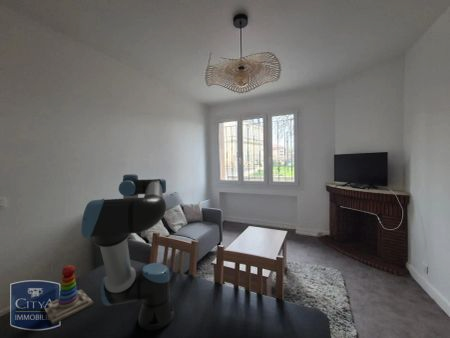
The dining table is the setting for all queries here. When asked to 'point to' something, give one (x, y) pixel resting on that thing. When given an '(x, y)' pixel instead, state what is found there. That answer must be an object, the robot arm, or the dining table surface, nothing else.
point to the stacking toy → (68, 288)
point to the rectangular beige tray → (60, 314)
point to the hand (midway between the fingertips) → (131, 240)
